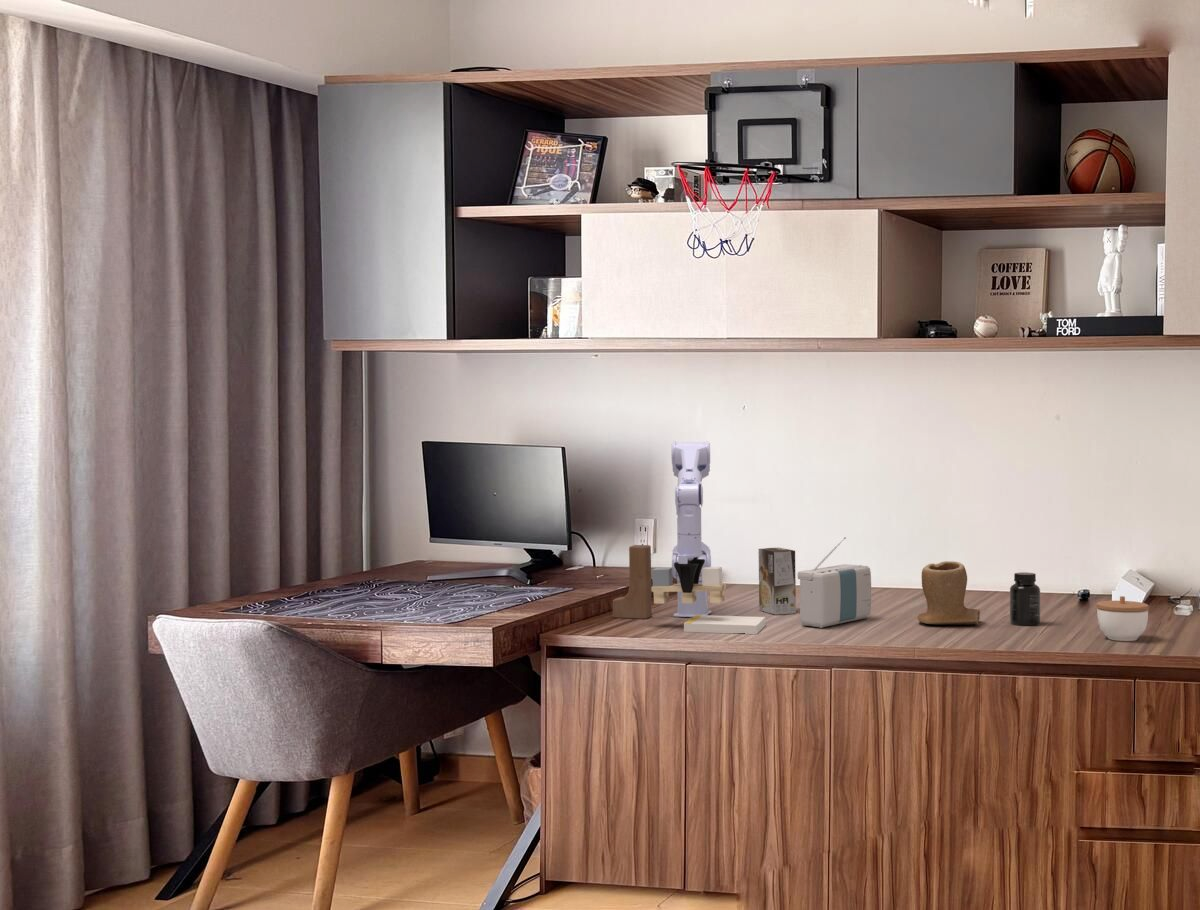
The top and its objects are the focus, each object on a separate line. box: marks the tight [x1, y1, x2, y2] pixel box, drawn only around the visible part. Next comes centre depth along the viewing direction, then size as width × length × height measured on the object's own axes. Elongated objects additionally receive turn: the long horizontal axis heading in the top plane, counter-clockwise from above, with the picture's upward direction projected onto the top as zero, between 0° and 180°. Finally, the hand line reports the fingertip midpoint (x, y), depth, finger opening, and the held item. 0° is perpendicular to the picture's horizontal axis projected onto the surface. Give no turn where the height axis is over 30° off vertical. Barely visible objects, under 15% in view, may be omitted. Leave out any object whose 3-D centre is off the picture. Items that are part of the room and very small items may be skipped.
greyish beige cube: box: [702, 566, 723, 586], centre depth 315 cm, size 4×4×4 cm
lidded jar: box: [1096, 596, 1149, 642], centre depth 294 cm, size 11×11×9 cm
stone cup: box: [916, 560, 981, 626], centre depth 316 cm, size 15×12×15 cm
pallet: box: [651, 582, 727, 605], centre depth 317 cm, size 5×17×4 cm, turn 73°
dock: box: [683, 614, 767, 635], centre depth 314 cm, size 13×17×2 cm
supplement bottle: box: [1009, 571, 1041, 627], centre depth 316 cm, size 7×7×12 cm
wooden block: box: [612, 544, 652, 620], centre depth 333 cm, size 9×4×18 cm, turn 71°
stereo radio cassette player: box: [797, 536, 872, 629], centre depth 321 cm, size 21×8×20 cm, turn 136°
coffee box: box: [758, 547, 797, 616], centre depth 339 cm, size 9×6×16 cm
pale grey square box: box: [651, 567, 674, 587], centre depth 319 cm, size 4×4×4 cm
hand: (689, 591), depth 317 cm, fingers closed on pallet, 5 cm apart
